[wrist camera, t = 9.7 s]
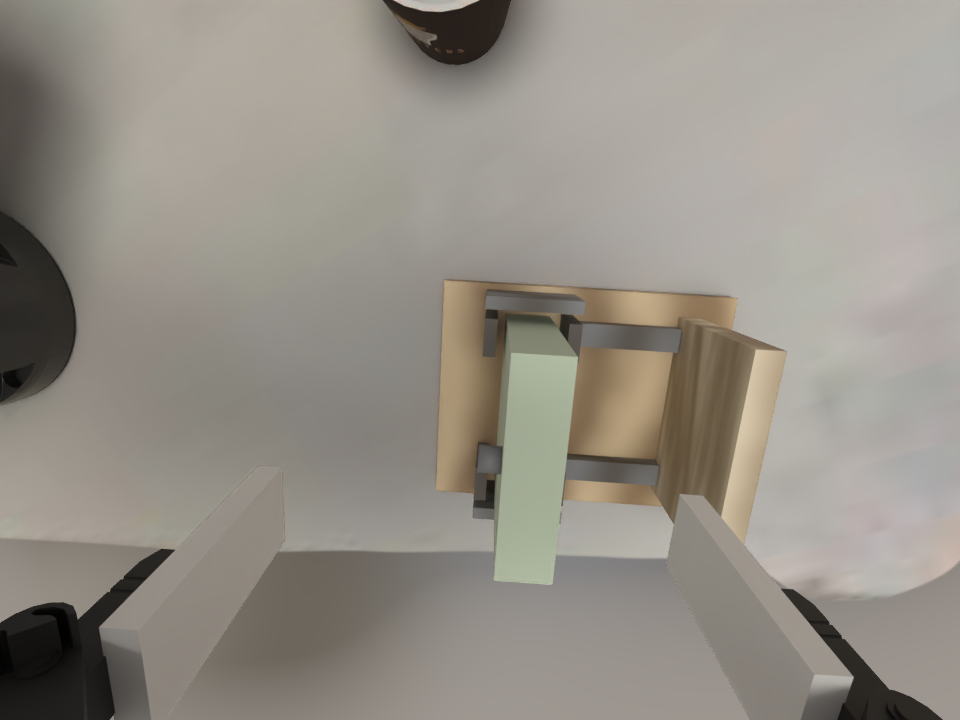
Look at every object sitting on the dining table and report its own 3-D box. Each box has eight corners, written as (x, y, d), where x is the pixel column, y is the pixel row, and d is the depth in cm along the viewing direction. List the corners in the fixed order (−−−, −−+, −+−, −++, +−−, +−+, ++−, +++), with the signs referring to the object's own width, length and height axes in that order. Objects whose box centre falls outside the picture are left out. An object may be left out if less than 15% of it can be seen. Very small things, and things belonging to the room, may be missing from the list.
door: (478, 469, 36) (470, 578, 24) (488, 312, 33) (484, 351, 21) (534, 473, 36) (552, 584, 24) (549, 315, 33) (578, 357, 21)
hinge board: (437, 482, 38) (413, 580, 27) (446, 279, 34) (421, 297, 23) (691, 500, 37) (771, 607, 26) (729, 296, 33) (842, 323, 22)
